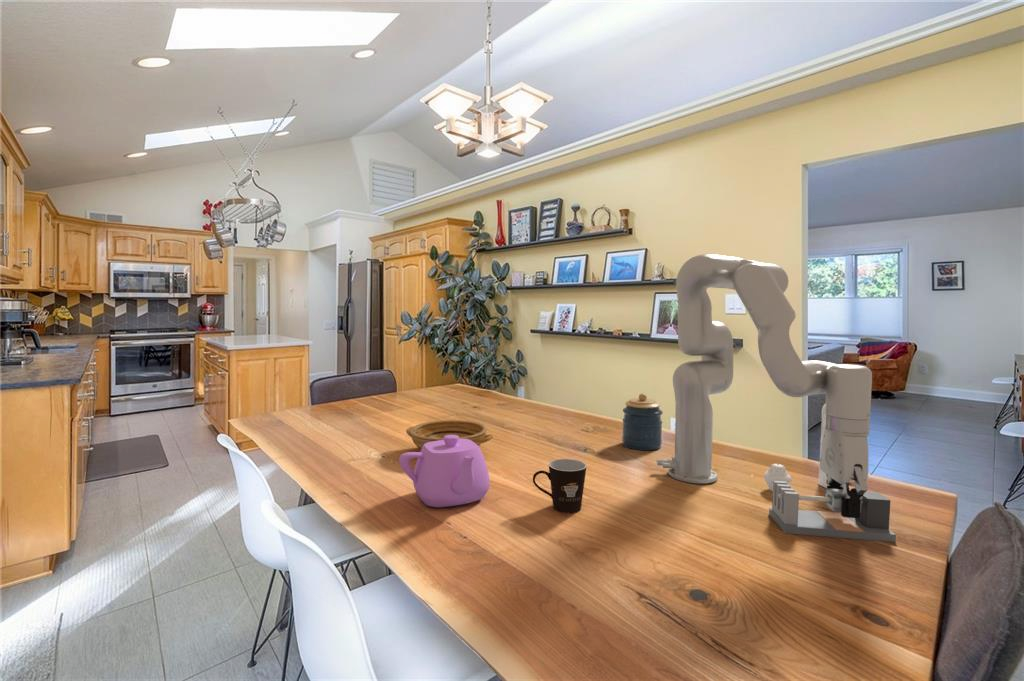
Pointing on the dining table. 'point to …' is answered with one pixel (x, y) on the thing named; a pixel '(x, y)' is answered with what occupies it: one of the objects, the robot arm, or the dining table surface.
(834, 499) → the sleeve
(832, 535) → the board
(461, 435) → the ceramic bowl
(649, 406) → the canister
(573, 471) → the coffee mug
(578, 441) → the dining table surface
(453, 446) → the teapot
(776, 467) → the white rounded ridged piece
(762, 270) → the robot arm
